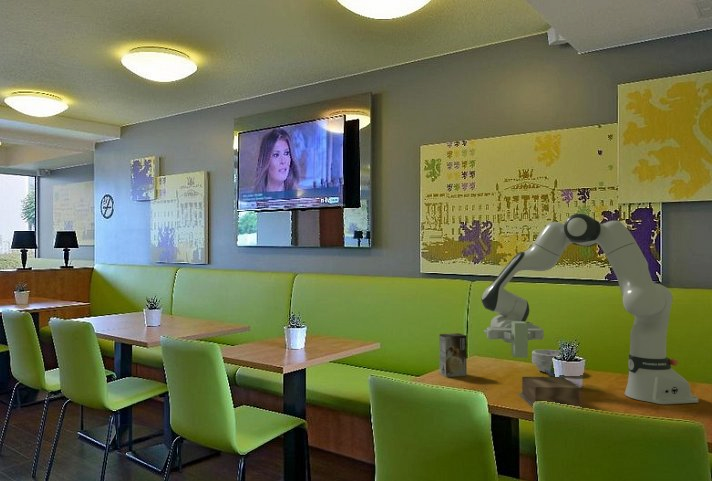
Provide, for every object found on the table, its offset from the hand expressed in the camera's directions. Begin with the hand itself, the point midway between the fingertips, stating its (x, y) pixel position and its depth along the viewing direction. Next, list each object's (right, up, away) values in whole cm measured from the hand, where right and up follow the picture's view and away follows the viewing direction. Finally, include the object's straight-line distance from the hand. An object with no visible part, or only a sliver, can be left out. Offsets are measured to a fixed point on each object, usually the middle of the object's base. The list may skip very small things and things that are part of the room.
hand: (520, 336), depth 199 cm
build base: (+7, -20, -11) cm, 23 cm away
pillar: (0, -7, +1) cm, 7 cm away
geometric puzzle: (+18, -20, +18) cm, 32 cm away
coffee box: (-20, -20, +25) cm, 38 cm away
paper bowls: (+22, -20, +34) cm, 45 cm away
